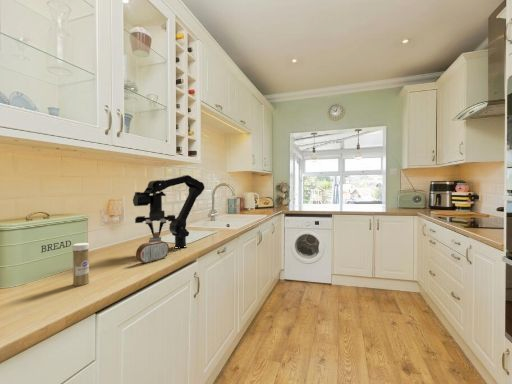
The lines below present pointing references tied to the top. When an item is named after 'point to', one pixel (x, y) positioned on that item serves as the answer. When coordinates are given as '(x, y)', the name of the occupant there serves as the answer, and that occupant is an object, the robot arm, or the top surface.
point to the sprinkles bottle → (80, 264)
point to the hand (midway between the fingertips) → (156, 235)
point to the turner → (155, 237)
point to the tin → (152, 251)
